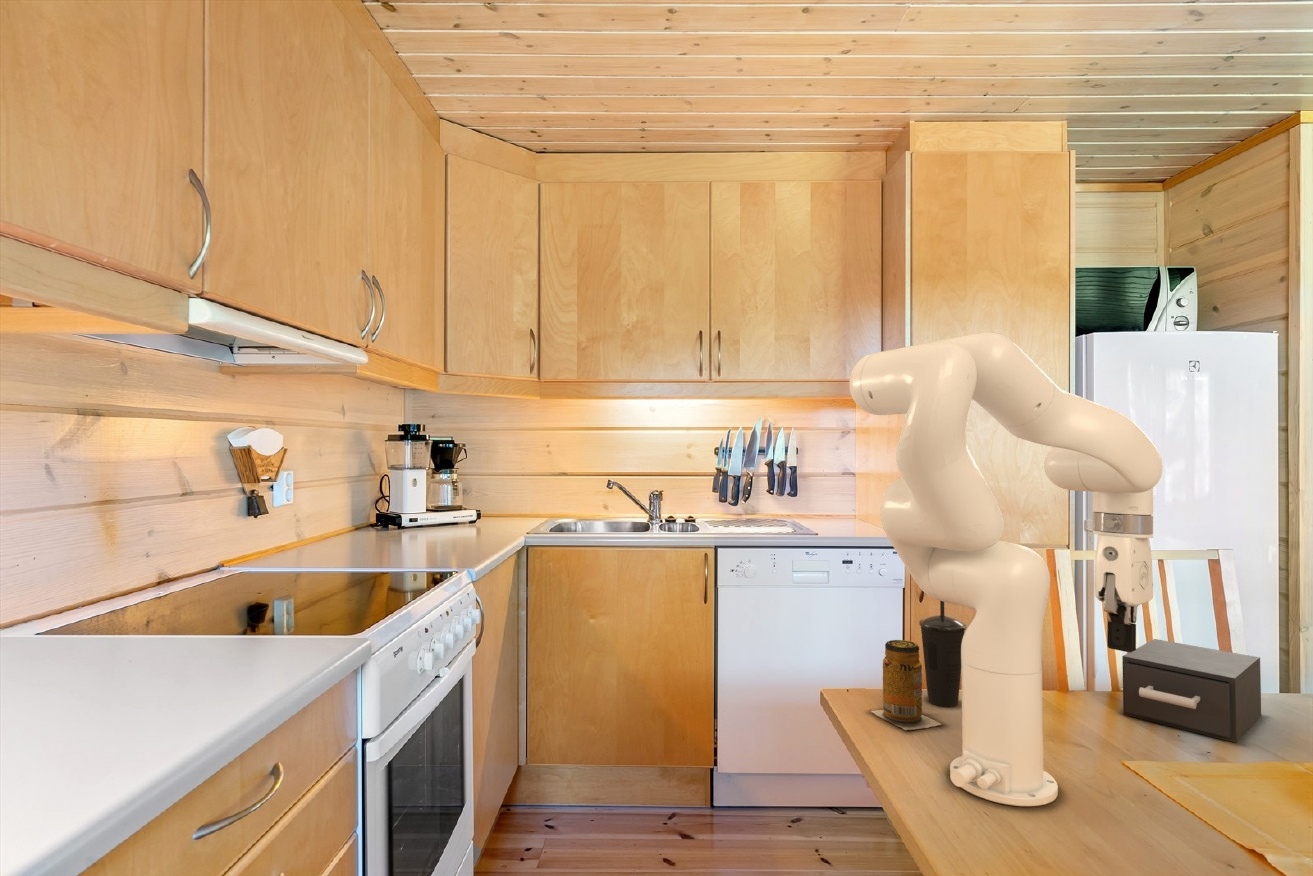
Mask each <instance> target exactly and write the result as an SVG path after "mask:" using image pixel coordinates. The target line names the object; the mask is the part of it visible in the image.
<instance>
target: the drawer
mask: <svg viewBox="0 0 1313 876" xmlns="http://www.w3.org/2000/svg"><path fill="white" fill-rule="evenodd" d="M1124 683H1125V712H1129V713H1133V714H1137V715H1141V716H1145V717H1149V718H1153V719H1157V720H1161V721H1165V722H1169V723H1172V724H1176V725H1180V726H1184V727H1188V728H1192V729H1196V730H1200V731H1204V732H1208V733H1212V734H1216V735H1220V736H1224V737H1228V738H1229V737H1230V736H1231V700H1230V683H1229V682H1225V681H1220V680H1215V679H1210V678H1207V679H1205V677H1202V678H1201V677H1200V676H1197V677H1196V676H1195V675H1192V676H1191V675H1190V674H1187V675H1186V674H1185V673H1182V674H1181V673H1180V672H1177V673H1176V672H1175V671H1171V670H1166V669H1161V668H1156V667H1151V666H1146V665H1141V664H1136V663H1134V664H1132V663H1125V664H1124Z"/></svg>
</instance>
